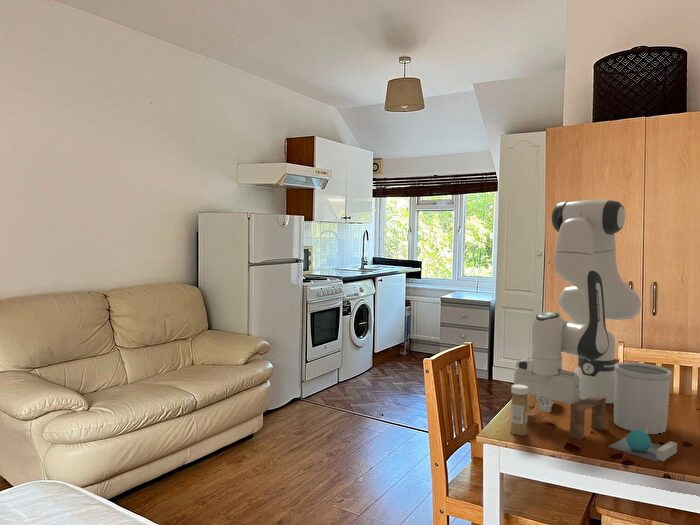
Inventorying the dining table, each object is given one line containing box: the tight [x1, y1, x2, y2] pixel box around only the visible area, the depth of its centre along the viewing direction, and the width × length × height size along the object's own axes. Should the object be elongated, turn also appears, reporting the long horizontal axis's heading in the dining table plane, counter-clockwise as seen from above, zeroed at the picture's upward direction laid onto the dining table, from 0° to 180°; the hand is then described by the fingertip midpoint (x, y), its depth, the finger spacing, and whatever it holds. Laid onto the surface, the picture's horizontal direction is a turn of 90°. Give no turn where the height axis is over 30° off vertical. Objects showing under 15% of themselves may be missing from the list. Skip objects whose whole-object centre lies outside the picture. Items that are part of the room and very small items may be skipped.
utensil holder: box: [613, 361, 673, 435], centre depth 157 cm, size 15×15×18 cm
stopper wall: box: [656, 440, 678, 462], centre depth 135 cm, size 9×2×2 cm, turn 130°
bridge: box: [569, 395, 607, 441], centre depth 151 cm, size 3×14×9 cm, turn 130°
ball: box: [626, 430, 652, 452], centre depth 138 cm, size 6×6×6 cm
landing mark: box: [608, 436, 663, 463], centre depth 140 cm, size 12×12×1 cm
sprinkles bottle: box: [510, 384, 529, 436], centre depth 150 cm, size 5×5×13 cm
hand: (545, 410), depth 162 cm, fingers closed
